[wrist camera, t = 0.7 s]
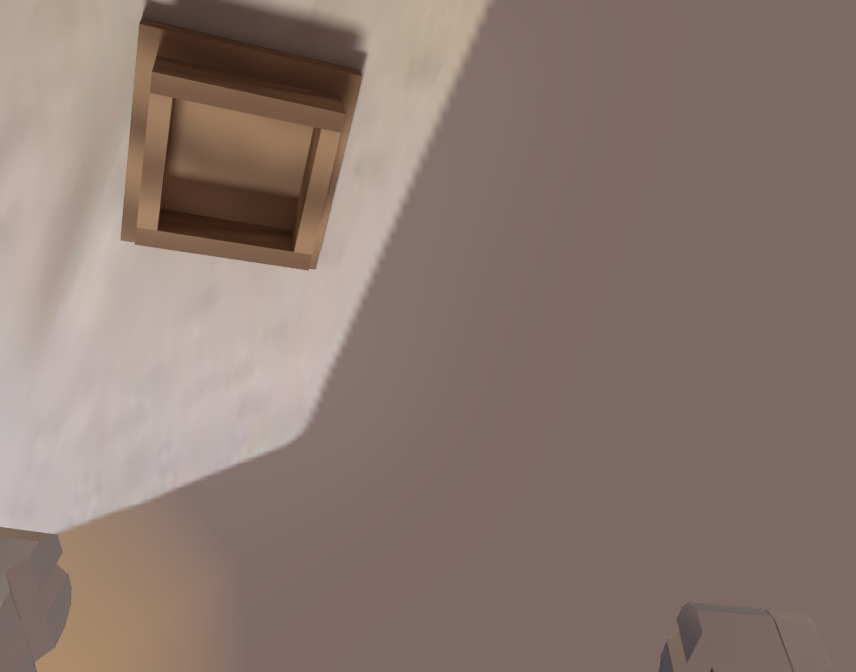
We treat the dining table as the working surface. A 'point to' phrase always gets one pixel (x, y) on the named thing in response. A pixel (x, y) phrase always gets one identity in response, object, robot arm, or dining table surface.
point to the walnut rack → (233, 147)
